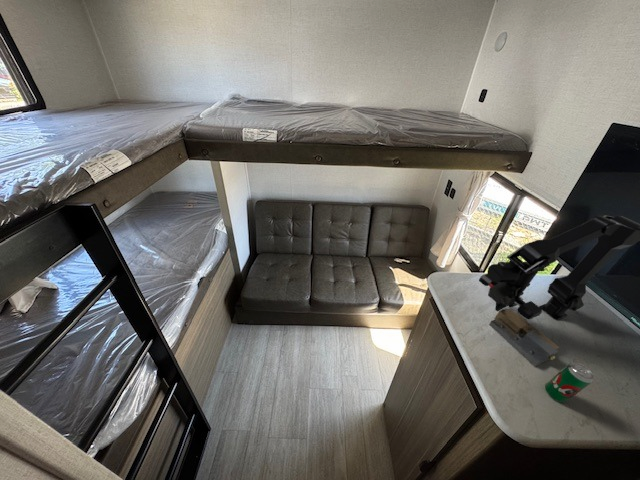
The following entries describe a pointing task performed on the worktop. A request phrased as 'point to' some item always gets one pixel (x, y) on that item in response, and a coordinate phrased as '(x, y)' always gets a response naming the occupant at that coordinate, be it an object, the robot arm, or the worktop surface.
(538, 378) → the worktop surface
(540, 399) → the worktop surface
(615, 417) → the worktop surface
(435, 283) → the worktop surface
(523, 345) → the leaf fixed
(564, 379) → the soda can
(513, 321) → the wooden block
